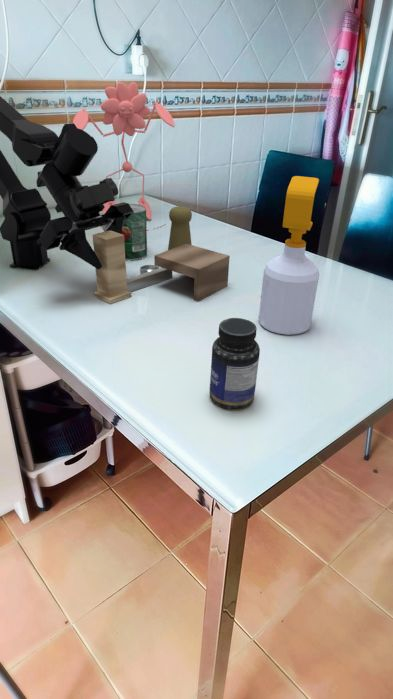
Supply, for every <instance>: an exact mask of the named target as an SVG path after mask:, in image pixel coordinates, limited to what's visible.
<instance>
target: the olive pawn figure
mask: <svg viewBox="0 0 393 699" xmlns="http://www.w3.org/2000/svg"><path fill="white" fill-rule="evenodd" d="M168 217H169V220H170V221H171V224H170V231H169V232H170V233H169V237H168V238H169V239H168V245H167V246H168V247H167V251H168V250H171V249H173V248H176V247H179V246H181V245H184V244H190V245H192V236H191V235H192V234H191V226H190V222H191V221H192V218H193V212H192V210H191V209H190V207H186V206H183V205H182V206H174V207H172V208H171V209H170V210H169V213H168Z"/></svg>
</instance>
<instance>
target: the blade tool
mask: <svg viewBox="0 0 393 699" xmlns="http://www.w3.org/2000/svg"><path fill="white" fill-rule="evenodd" d="M92 244H93V251H94V252H95V254H96V255H97V257H98V259H99V261H100V263H101V265H102V267H101V269H99V270H98V269H96V268H95V278H96V288H97V291H93V296H94V297H95V298H98V299H99V300H101V301H104V302H106V303H108V304H109V305H111V304H115V303H116V302H119V301H122V300H125V299H128V298H131V297H132V292H135V291H138V290H141V289H144V288H146V287H151V286H153V285H155V284H158V283H161V282H164V281H167V280H170V279H173V271H171V270H168V269H165V268H161V267H159V269H156V270H153V271H150V272H146V273H143V274H140V273H139V274H137V275H135V276H134V275H133V276H132V277H128V278H127V265H126V264H127V263H126V262H127V261H125V243H124V235H122V234H120V233H117V232H114V231H111V230H110V231H106V232H104V231H103V232H98V233H94V234H92Z"/></svg>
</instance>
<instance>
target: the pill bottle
mask: <svg viewBox="0 0 393 699" xmlns="http://www.w3.org/2000/svg"><path fill="white" fill-rule="evenodd" d="M257 330H258V329H257V326H256V324H255V323H254V322H252V321H251V320H249V319H245V318H240V317H231V318H226V319H224V320H222V321H221V322H220V323H219V325H218V337H217V338H216V339H215V340H214V341H213V344H212V349H211V361H210V362H211V364H210V379H209V380H210V381H209V397H210V400H211V401H212V403H214V404H215V405H217V406H218V407H220V408H222V409H226V410H231V411H232V410H234V411H235V410H243V409H245V408H247V407H250V405H251V404H252V403H253V401H254V399H255V395H256V394H255V393H256V387H257V379H258V378H257V377H258V370H259V368H258V367H259V361H260V355H261V354H260V352H261V349H260V345H259V343H258V341H256V338H257Z"/></svg>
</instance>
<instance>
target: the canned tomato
mask: <svg viewBox="0 0 393 699" xmlns="http://www.w3.org/2000/svg"><path fill="white" fill-rule="evenodd" d="M129 205H130V207H131V208H132V210H133V211H134V213H133V214H132V216H131V217H130V218H129V219H128V220H127V222H126V223H125V224H124V225H123V226H122V234H123V235H124V243H125V248H126V252H127V256H128V257H127V259H126V260H135V261H139V260H138V259H140V260H143V259H145V258H146V257H147V256H148V237H147V231H148V229H147V228H148V227H147V217H146V207H145V206H143V205H139V203H138V204H137V203H129ZM144 257H145V258H144ZM142 258H143V259H142Z"/></svg>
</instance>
